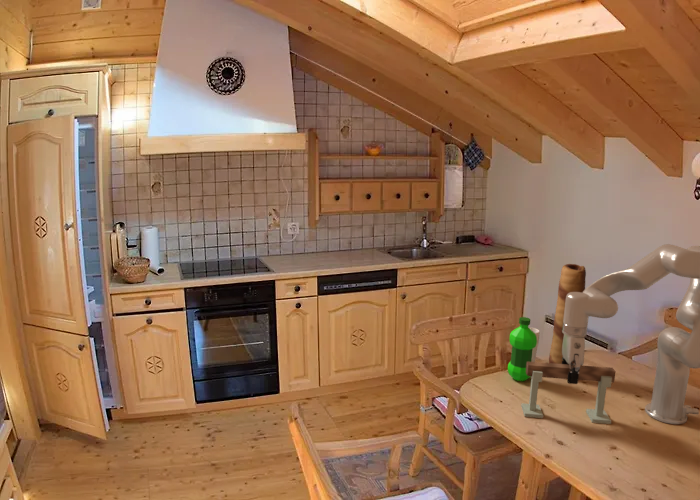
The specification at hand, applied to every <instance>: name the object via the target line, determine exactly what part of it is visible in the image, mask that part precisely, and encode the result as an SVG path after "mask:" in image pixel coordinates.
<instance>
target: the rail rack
mask: <svg viewBox="0 0 700 500" xmlns="http://www.w3.org/2000/svg"><path fill="white" fill-rule="evenodd" d="M542 375H543V372H542V371H533V373H532V376H531V377H530V379H531V380H530V387H529V388H530V389H529V399H528V400H529V401H528V403H523V402H521V404H520V407H521V410H522V412H523V413H522V414H523V416H524V417H527V418H536V419H543V418H544V414H543V411H542V409H541V407H540V404H537V400H538V392H539V383H543V377H542ZM597 383H598V385H597V392H596V398H595V399H596V400H595V408H586V409H585V410H586V411H585V412H586V414H587V416H588V418H589V420H590V422H591V423H593V424H595V423H596V424H604V425H605V424H606V425H612V420H611V418H610V417H609V415H608V413H607V411H606V410H605V402H606V393H607V388H611V387H612V377H611V376H601V381H600V382H599V381H597Z"/></svg>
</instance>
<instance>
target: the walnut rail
mask: <svg viewBox="0 0 700 500" xmlns="http://www.w3.org/2000/svg"><path fill="white" fill-rule="evenodd" d="M573 367H574V366H572V369H573ZM533 371H542V372H543V375H542V378H548V379H563V380H567V379H568V372H570V370H569V364H555V363H549V362H540V361H535V362H527V364H526V374H527V376H532V373H533ZM601 376H611V377H612V382H611V384H612V383H615V378H616V370H615V369H614V367H608V366H607V367H606V366H594V365H582V366H581V365H580V369H579V377H578V381H587V382H598V381H599V382H600V381H601Z"/></svg>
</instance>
